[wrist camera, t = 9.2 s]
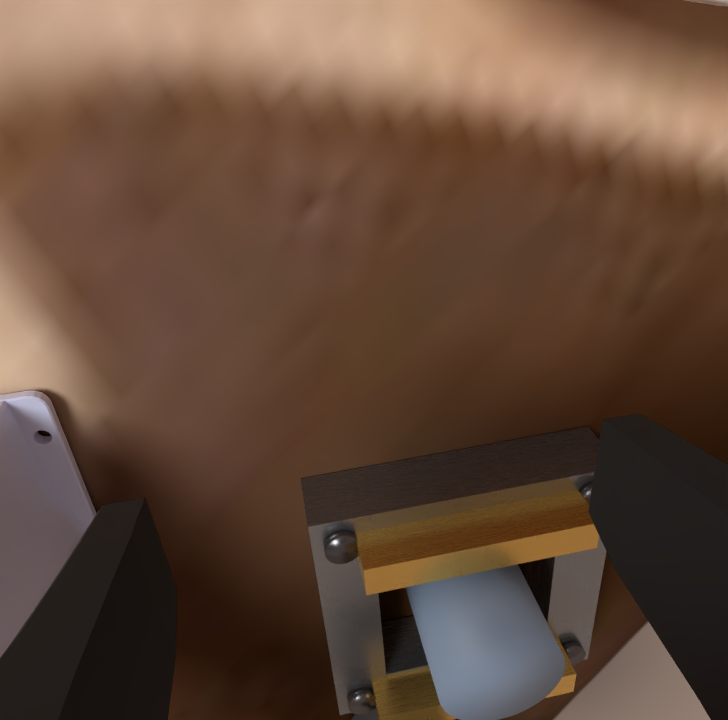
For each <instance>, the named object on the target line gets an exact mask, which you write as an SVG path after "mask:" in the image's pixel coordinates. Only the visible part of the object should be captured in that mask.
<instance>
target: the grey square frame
mask: <svg viewBox="0 0 728 720" xmlns="http://www.w3.org/2000/svg"><path fill="white" fill-rule="evenodd" d="M598 446H599V439H598V438H597V436H596V435H595V434H594V433H593V431H592V430H591V429H590V428H589V426H587V427H582V428H576V429H571V430H565V431H560V432H554V433H549V434H543V435H538V436H532V437H527V438H521V439H516V440H510V441H505V442H499V443H494V444H488V445H483V446H477V447H472V448H466V449H461V450H455V451H450V452H444V453H439V454H433V455H428V456H422V457H417V458H411V459H406V460H401V461H395V462H390V463H384V464H379V465H373V466H368V467H362V468H357V469H351V470H346V471H340V472H335V473H329V474H324V475H318V476H313V477H307V478H302V479H301V483H302V490H303V496H304V503H305V510H306V516H307V523H308V529H309V535H310V541H311V547H312V553H313V559H314V565H315V571H316V577H317V582H318V588H319V594H320V600H321V606H322V612H323V618H324V624H325V630H326V636H327V642H328V648H329V654H330V660H331V666H332V672H333V678H334V684H335V689H336V695H337V701H338V707H339V713H340V715H343V714H347V713H354V714H365V713H368V712H370V711H372V710H374V709H375V708H376V710H377V715H378V720H453V719H457V718H455V717H453V716H451V715H449V714H448V713H447V712H445V711H444V709H443V708H442V707H441V704H440V702H439V699H438V695H437V692H436V689H435V685H434V682H433V679H432V675H431V672H430V669H429V665H428V662H427V658H426V655H425V652H424V648H423V645H422V642H421V638H420V635H419V631H418V628H417V625H416V621H415V618H414V616H409V617H405V618H400V619H395V620H390V621H386V622H381V616H380V605H379V595H378V593H381V592H385V591H390V590H395V589H400V588H405V587H410V586H415V585H419V584H424V583H429V582H434V581H439V580H444V579H448V578H453V577H458V576H463V575H468V574H473V573H478V572H482V571H487V570H492V569H497V568H502V567H507V566H511V565H516V564H521V563H525V574H524V578H525V580H526V582H527V584H528V586H529V588H530V590H531V592H532V594H533V596H534V598H535V600H536V602H537V604H538V606H539V608H540V610H541V612H542V614H543V616H544V618H545V619H546V621H547V623H548V625H549V627H550V629H551V631H552V633H553V635H554V637H555V639H556V641H557V643H558V645H559V647H560V649H561V651H562V653H563V655H564V658H565V670H564V673H563V676H562V678H561V680H560V682H559V683H558V685H557V686H556V687H555V688H554V689H553V691H552V692H551V693H550V694H549V695H547V696H546V697H545V698H547V697H552V696H556V695H560V694H564V693H569V692H573V691H574V685H575V679H576V672H575V670H574V668H573V666H574V665H577V664H578V663H580V662H581V661H582V660H585V659H588V653H589V648H590V642H591V636H592V631H593V625H594V619H595V614H596V608H597V602H598V597H599V591H600V585H601V579H602V574H603V568H604V562H605V557H606V549H605V547H604V545H603V543H602V541H601V539H600V537H599V534H598V532H597V530H596V528H595V526H594V523H593V521H592V519H591V517H590V515H589V512H588V510H589V504H590V497H591V491H592V485H593V478H594V472H595V465H596V459H597V453H598Z"/></svg>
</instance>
